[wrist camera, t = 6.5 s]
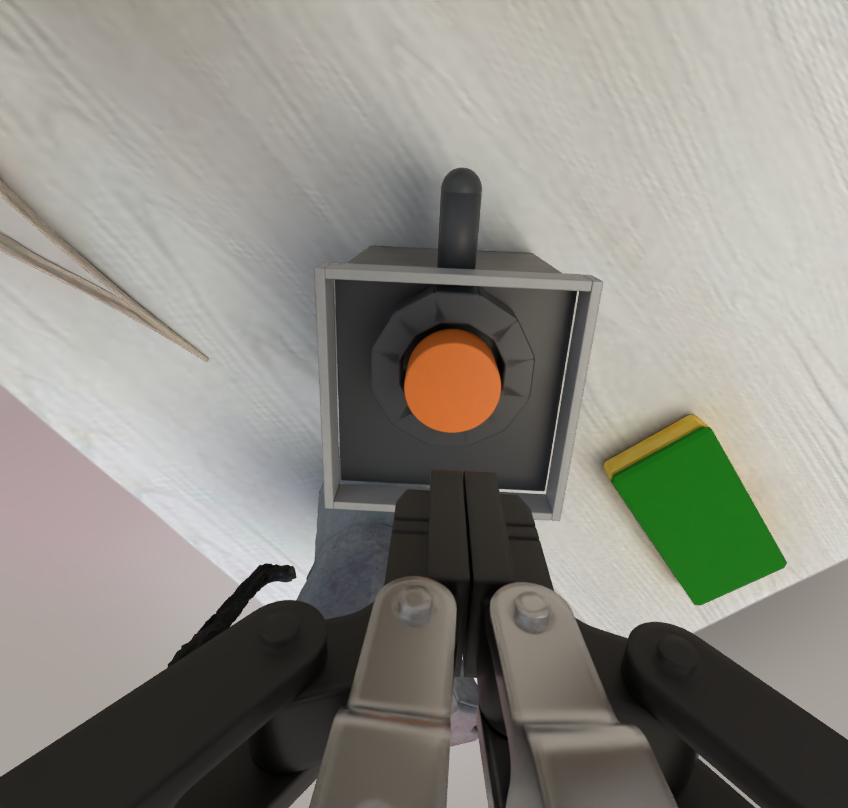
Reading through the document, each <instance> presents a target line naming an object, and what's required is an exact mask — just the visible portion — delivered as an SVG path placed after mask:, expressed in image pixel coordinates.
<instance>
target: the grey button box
mask: <svg viewBox="0 0 848 808" xmlns="http://www.w3.org/2000/svg"><path fill="white" fill-rule="evenodd" d="M437 262H438V249H430V248H408V247H387V246H370V247H368V248H367V249H366V250H364V251H363V252H362V253H360V254H359V255H358V256H356V257H355V258H354V259H352V260H351V261H350V262H348V264H369V265H390V266H412V267H433V268H437ZM475 270H496V271H517V272H538V273H559V274H562V273H561V272H559V271H558V270H556V269H555V268H554V267H552V266H551V265H549V264H548V263H546V262H545V261H543V260H542V259H540V258H539V257H537V256H536V255H534V254H533V253H515V252H494V251H477V255H476V267H475ZM335 294H336V329H337V364H338V399H339V434H340V469H341V480H345V481H364V482H383V483H401V484H420V485H430V475H431V469H440V470H459V471H462V480H463V472H464V471H480V472H495V473H496V477H497V482H498V487H499V489H513V490H532V491H545V486H546V480H547V474H548V468H549V462H550V456H551V449H552V443H553V437H554V431H555V425H556V419H557V412H558V406H559V400H560V394H561V388H562V382H563V375H564V369H565V363H566V357H567V351H568V345H569V338H570V332H571V326H572V320H573V314H574V308H575V301H576V295H577V291H569V290H548V289H527V288H506V287H485V286H464V285H443V284H422V283H401V282H380V281H360V280H339V279H335ZM444 329H461V330H465V331H468V332H470V333H473V334H474V335H476V336H478V337H479V338H480V339H482V340H483V341H484V342H485V343H486V344H487V346H488V347H489V348H490V350H491V352H492V354H493V356H494V359H495V362H496V365H497V368H498V371H499V375H500V379H501V395H500V399H499V402H498V404H497V406H496V408H495V410H494V411H493V413H492V414H491V415H490V417H489V418H488V419H486V420H485V421H484V422H483V423H481V424H480V425H479V426H477V427H475V428H473V429H470V430H467V431H463V432H457V433H448V432H441V431H437V430H435V429H432V428H430V427H428V426H426V425H425V424H423V423H422V422H421V421H419V420H418V419H417V418H416V417H415V416H414V414H413V413H412V412H411V410H410V408H409V406H408V404H407V402H406V399H405V393H404V383H405V377H406V371H407V366H408V362H409V358H410V356H411V353H412V352H413V350H414V348H415V347H416V346H417V344H418V343H419V342H420V341H421V340H422V339H424V338H425V337H426V336H428V335H430V334H432V333H434V332H436V331H440V330H444Z"/></svg>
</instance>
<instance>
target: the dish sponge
mask: <svg viewBox="0 0 848 808" xmlns="http://www.w3.org/2000/svg"><path fill="white" fill-rule="evenodd" d="M603 468H604V470H605V472H606V473H607V475H608V477H609V479H610V480H611V482H612V484H613V485H614V487H615V488H616V490H617V491H618V492H619V494H620V495H621V497H622V498H623V500H624V501H625V503H626V504H627V506H628V507H629V509H630V510H631V512H632V513H633V515H634V516H635V518H636V519H637V521H638V522H639V524H640V525H641V527H642V528H643V529H644V531H645V532H646V534H647V535H648V537H649V538H650V540H651V541H652V543H653V544H654V546H655V547H656V549H657V550H658V552H659V553H660V555H661V556H662V558H663V559H664V561H665V562H666V563H667V565H668V566H669V568H670V569H671V571H672V572H673V574H674V575H675V577H676V578H677V580H678V581H679V583H680V584H681V586H682V587H683V589H684V590H685V592H686V593H687V595H688V596H689V598H690V599H691V600H692V602H693V603H694V605H703V604H705V603H707V602H709V601H711V600H714V599H716V598H718V597H720V596H723V595H725V594H727V593H729V592H731V591H734V590H736V589H738V588H740V587H743V586H745V585H747V584H749V583H751V582H754V581H756V580H758V579H760V578H763V577H765V576H767V575H769V574H771V573H774V572H776V571H778V570H780V569H783V568H784V567H785V565H786V564H787V562H786V560H785V558H784V556H783V555H782V553H781V551H780V549H779V548H778V546H777V544H776V542H775V541H774V539H773V537H772V535H771V533H770V532H769V530H768V528H767V526H766V525H765V523H764V521H763V519H762V517H761V516H760V514H759V512H758V510H757V509H756V507H755V505H754V503H753V502H752V500H751V498H750V496H749V494H748V493H747V491H746V489H745V487H744V486H743V484H742V482H741V480H740V478H739V477H738V475H737V473H736V471H735V470H734V468H733V466H732V464H731V463H730V461H729V459H728V457H727V455H726V454H725V452H724V450H723V448H722V447H721V445H720V443H719V441H718V440H717V438H716V436H715V434H714V432H713V431H712V429H711V428H710V427H708V426H707V425H706V424H705V423H704V422H703V421H702V420H700V419H699V418H698V417H697V416H694V415H688V416H686V417H684V418H683V419H681V420H679V421H677V422H675V423H674V424H672V425H670V426H668V427H666V428H665V429H663V430H661V431H659V432H657V433H656V434H654V435H652V436H650V437H648V438H647V439H645V440H643V441H641V442H639V443H638V444H636V445H634V446H632V447H630V448H629V449H627V450H625V451H623V452H621V453H620V454H618V455H616V456H614V457H613V458H611V459H609V460H607V461H605V463H604V466H603Z"/></svg>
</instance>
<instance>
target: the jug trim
mask: <svg viewBox="0 0 848 808" xmlns="http://www.w3.org/2000/svg"><path fill="white" fill-rule="evenodd" d="M481 192H482V186H481V182H480V179H479V177H478V176H477V175H476V174H475V173H474V172H473V171H472V170H470V169H467V168H457V169H454V170H452V171H451V172H449V173H448V174H447V175H446V177H445V178H444V180H443V183H442V187H441V203H440V223H439V242H438V262H437V268H433V267H412V266H390V265H369V264H348V263H327V262H324V263H322V264H320V265H319V266H317V267H315V269H314V272H315V294H316V317H317V339H318V362H319V384H320V407H321V429H322V452H323V474H324V497H325V508H329V509H333V508H334V509H347V510H366V511H384V512H395V506H396V501H397V500H398V499H399V498H400V497H401V496H402V494H403V493H404V492H405V491H406V490H407V489H413V490H430V488H416V487H397V486H378V485H360V484H340V480H339V447H338V413H337V380H336V346H335V313H334V279H339V280H360V281H380V282H401V283H422V284H443V285H464V286H485V287H506V288H527V289H548V290H569V291H579V296H578V302H577V309H576V315H575V321H574V327H573V333H572V339H571V345H570V351H569V357H568V363H567V370H566V376H565V382H564V388H563V394H562V400H561V406H560V412H559V418H558V424H557V431H556V437H555V443H554V449H553V455H552V461H551V467H550V473H549V479H548V486H547V492H546V495H545V494H528V493H509V492H500V494H510V495H518V496H519V497H520V498H521V499H522V500H523V501H524V502H525V503H526V504H527V505H528V507H529V508H530V509H531V512H532V515H533V519H534V520H552V521H560V518H561V512H562V507H563V501H564V495H565V490H566V484H567V479H568V473H569V468H570V462H571V457H572V451H573V446H574V440H575V435H576V429H577V424H578V418H579V413H580V407H581V402H582V396H583V391H584V385H585V380H586V374H587V369H588V363H589V358H590V352H591V347H592V341H593V336H594V330H595V325H596V319H597V314H598V308H599V303H600V297H601V292H602V286H603V281H601V280H599V279H597V278H595V277H594V276H592V275H580V274H559V273H538V272H517V271H496V270H475V267H476V255H477V242H478V230H479V217H480V205H481Z"/></svg>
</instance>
